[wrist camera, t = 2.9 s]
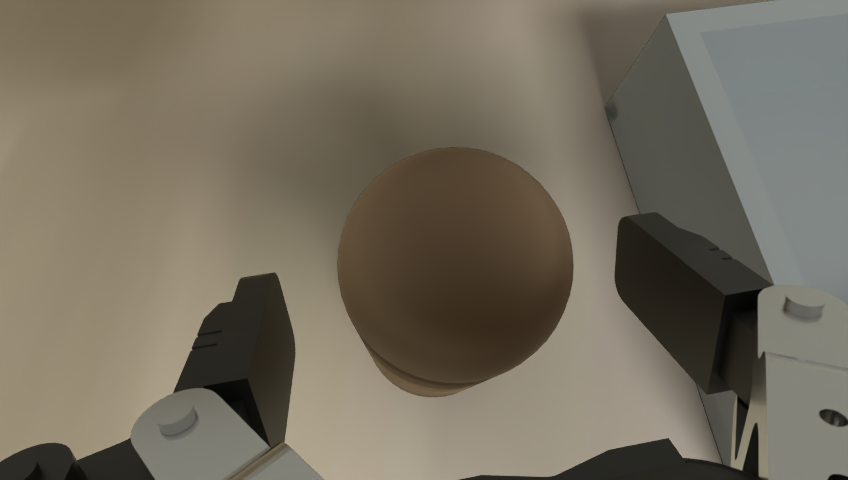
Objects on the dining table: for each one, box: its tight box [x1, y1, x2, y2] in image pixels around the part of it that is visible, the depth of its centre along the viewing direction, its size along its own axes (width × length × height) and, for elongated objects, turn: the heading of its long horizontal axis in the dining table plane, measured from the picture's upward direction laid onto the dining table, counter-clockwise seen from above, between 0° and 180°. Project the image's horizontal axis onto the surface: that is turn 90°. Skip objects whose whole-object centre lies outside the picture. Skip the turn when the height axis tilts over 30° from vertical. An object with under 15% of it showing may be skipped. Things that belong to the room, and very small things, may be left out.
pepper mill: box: [337, 147, 573, 397], centre depth 13 cm, size 4×4×10 cm
